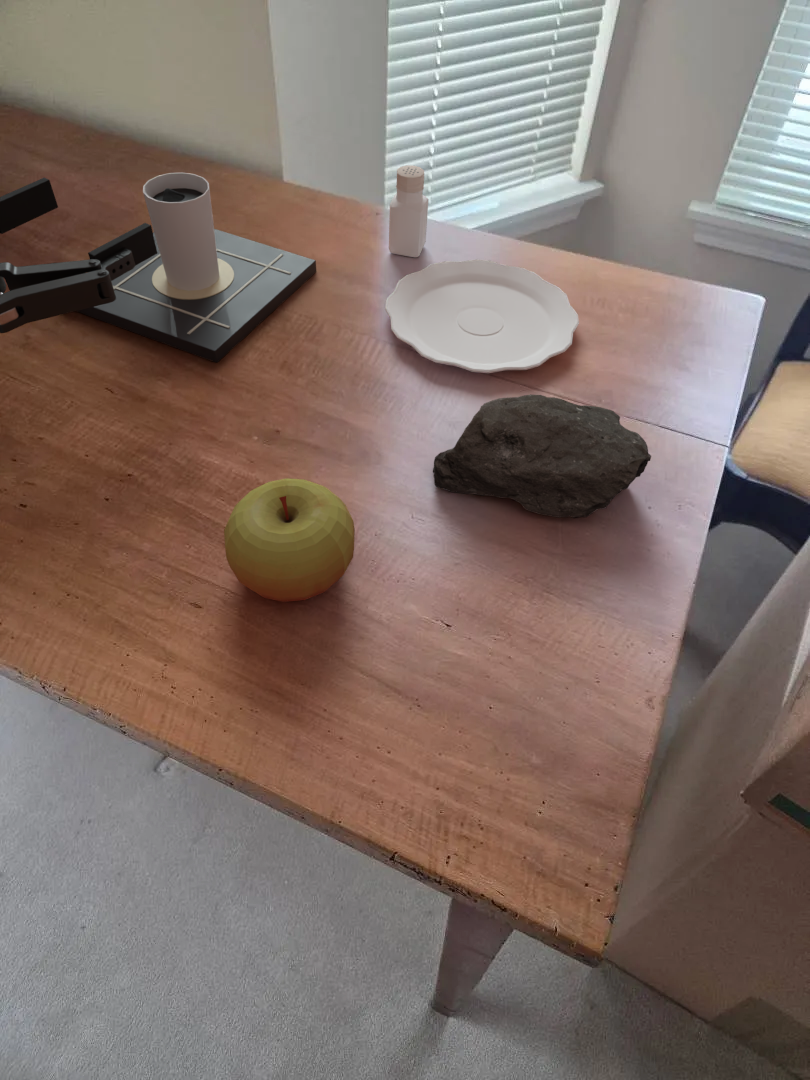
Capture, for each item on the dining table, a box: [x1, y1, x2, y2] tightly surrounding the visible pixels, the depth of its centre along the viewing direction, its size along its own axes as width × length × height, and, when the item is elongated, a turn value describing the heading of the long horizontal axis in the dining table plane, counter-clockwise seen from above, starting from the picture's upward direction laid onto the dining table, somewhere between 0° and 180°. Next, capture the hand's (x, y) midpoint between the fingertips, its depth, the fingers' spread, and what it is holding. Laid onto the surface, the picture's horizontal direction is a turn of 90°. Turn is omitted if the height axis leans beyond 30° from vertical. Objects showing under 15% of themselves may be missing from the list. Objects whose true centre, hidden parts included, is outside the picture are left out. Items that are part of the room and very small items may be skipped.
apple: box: [223, 478, 356, 603], centre depth 57 cm, size 10×10×8 cm
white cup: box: [142, 171, 219, 291], centre depth 80 cm, size 7×7×10 cm
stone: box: [432, 394, 652, 518], centre depth 65 cm, size 18×9×10 cm
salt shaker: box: [388, 164, 429, 258], centre depth 89 cm, size 4×4×10 cm
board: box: [76, 228, 317, 364], centre depth 85 cm, size 20×20×2 cm
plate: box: [384, 258, 580, 374], centre depth 83 cm, size 21×21×2 cm
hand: (100, 214), depth 71 cm, fingers open, 13 cm apart
